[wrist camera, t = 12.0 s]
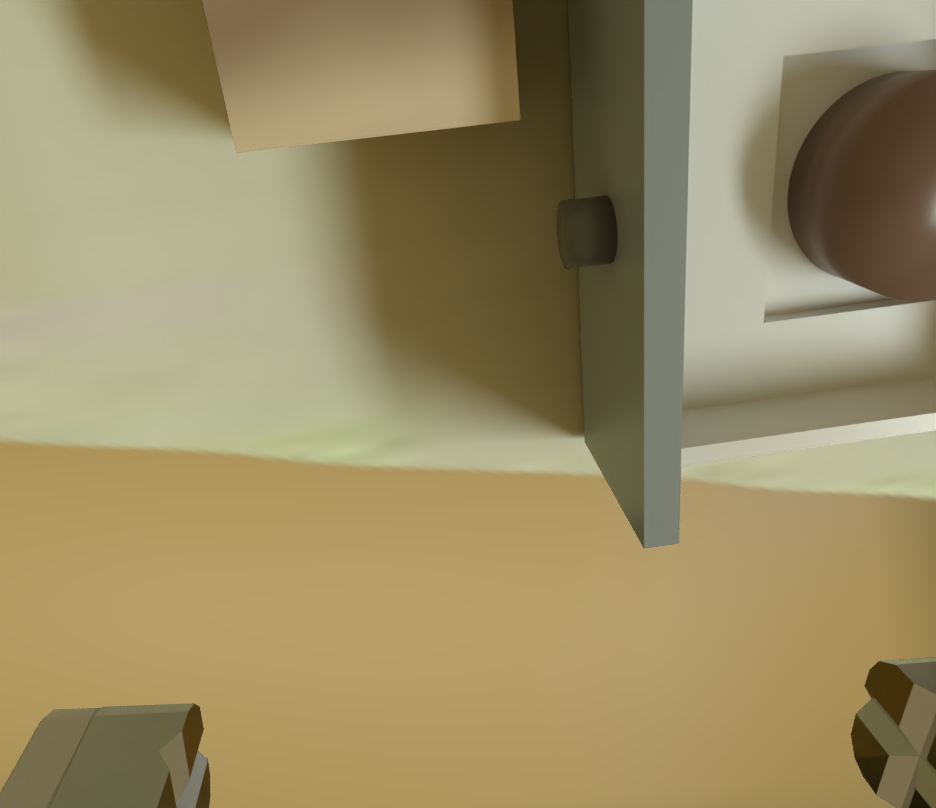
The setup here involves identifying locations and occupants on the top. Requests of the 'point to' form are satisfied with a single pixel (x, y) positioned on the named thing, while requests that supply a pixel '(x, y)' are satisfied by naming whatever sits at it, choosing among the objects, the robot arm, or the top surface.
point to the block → (361, 67)
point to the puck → (872, 187)
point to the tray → (725, 241)
